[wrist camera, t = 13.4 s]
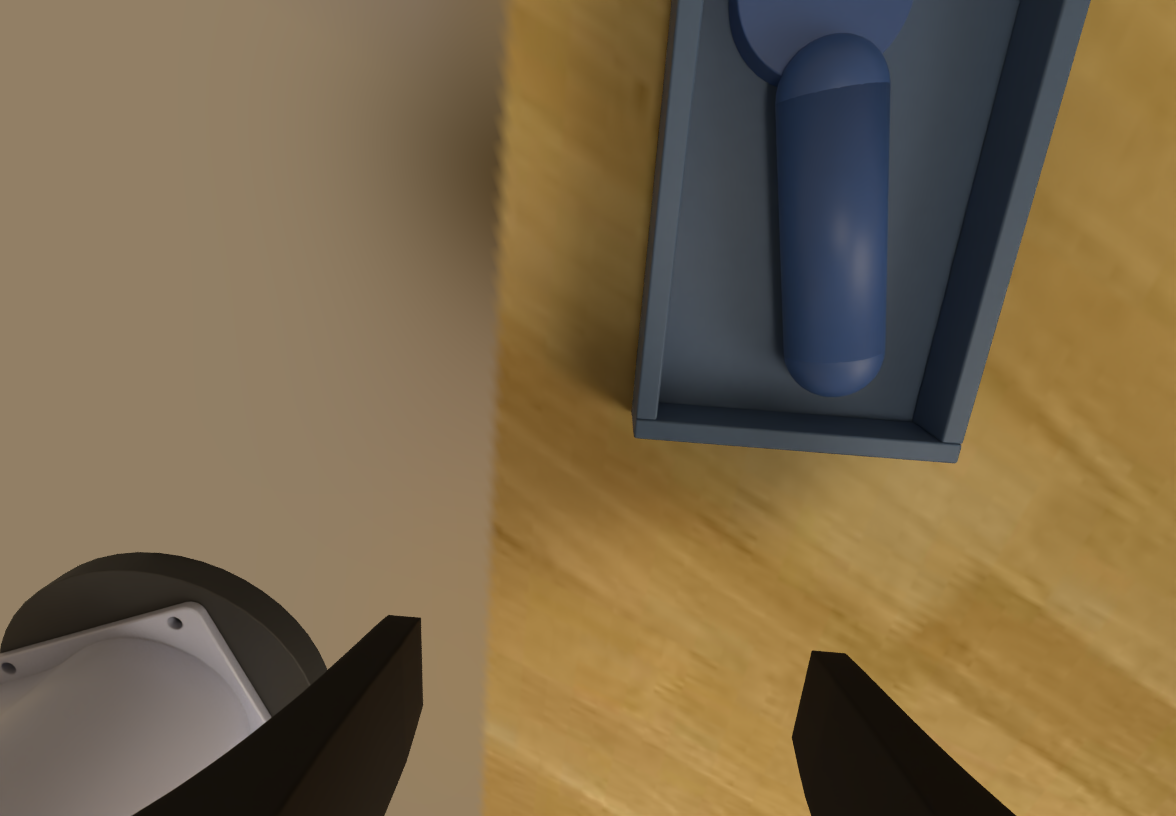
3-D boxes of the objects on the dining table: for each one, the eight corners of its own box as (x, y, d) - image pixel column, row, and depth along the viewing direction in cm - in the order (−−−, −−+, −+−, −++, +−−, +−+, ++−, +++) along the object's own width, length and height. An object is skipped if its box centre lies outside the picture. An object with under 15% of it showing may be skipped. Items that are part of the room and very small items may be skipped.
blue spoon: (889, 373, 18) (933, 399, 16) (748, 390, 18) (769, 418, 16) (900, -117, 14) (960, -184, 12) (723, -85, 15) (745, -144, 12)
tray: (918, 435, 19) (957, 464, 17) (631, 412, 19) (633, 439, 17) (1073, -157, 14) (1156, -223, 12) (689, -182, 14) (702, -251, 12)
